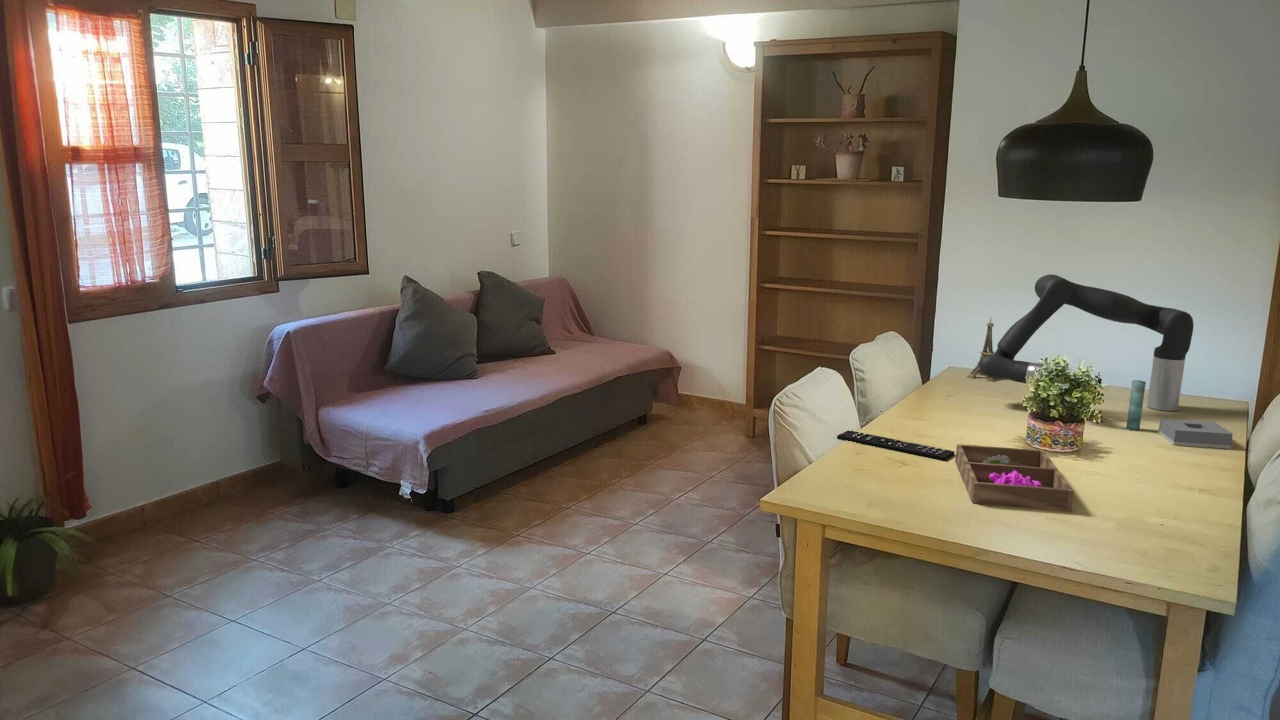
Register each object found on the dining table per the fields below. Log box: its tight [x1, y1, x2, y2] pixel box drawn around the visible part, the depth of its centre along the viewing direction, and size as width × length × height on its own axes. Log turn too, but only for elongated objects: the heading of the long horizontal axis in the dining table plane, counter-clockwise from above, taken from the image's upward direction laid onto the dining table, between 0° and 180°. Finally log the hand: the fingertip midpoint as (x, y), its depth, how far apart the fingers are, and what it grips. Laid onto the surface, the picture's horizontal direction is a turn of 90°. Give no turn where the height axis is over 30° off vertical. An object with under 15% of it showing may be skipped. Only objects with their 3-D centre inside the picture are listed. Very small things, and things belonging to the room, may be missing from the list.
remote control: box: [836, 429, 956, 462], centre depth 265 cm, size 8×32×2 cm, turn 52°
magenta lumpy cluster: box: [989, 470, 1042, 487], centre depth 225 cm, size 12×10×7 cm
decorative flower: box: [983, 455, 1010, 465], centre depth 239 cm, size 8×6×15 cm
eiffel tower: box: [966, 317, 1003, 383], centre depth 352 cm, size 11×11×25 cm
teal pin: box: [1125, 379, 1147, 431], centre depth 286 cm, size 4×4×15 cm
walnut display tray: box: [954, 443, 1075, 512], centre depth 234 cm, size 32×22×5 cm
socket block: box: [1158, 418, 1233, 450], centre depth 276 cm, size 13×15×4 cm
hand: (1097, 384), depth 292 cm, fingers open, 8 cm apart
